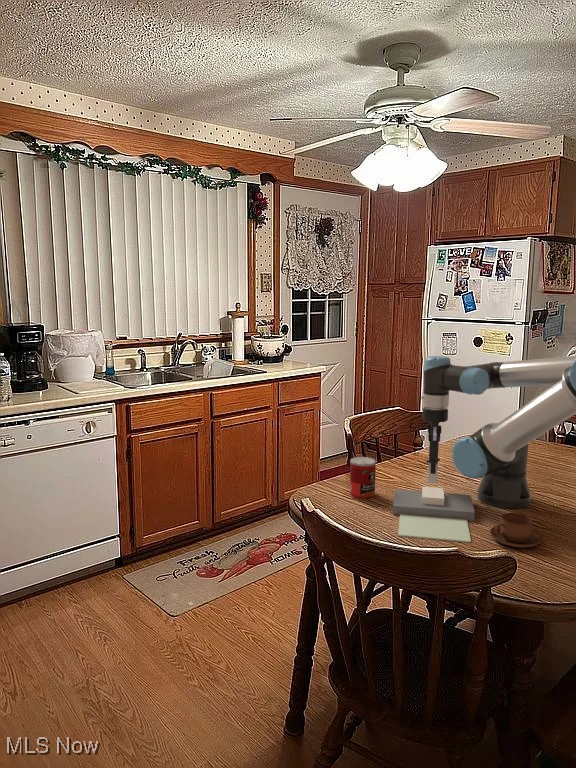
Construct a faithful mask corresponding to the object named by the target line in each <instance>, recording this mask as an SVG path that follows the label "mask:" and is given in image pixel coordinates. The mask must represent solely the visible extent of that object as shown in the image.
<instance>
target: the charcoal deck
mask: <svg viewBox="0 0 576 768" xmlns="http://www.w3.org/2000/svg"><path fill="white" fill-rule="evenodd" d="M472 499H473V498H472V495H471V494H463V493H449V492H444V505H432V504H422V490H408V489H407V490H406V489H398V488H396V489H394V496H393V504H392V515H395V516H396V515H397V516H400V514H404V515H416V516H428V517H440V518H452V519H464V520H467V522H468V521H469V522H475V516H476V515H475V514H476V512H475V508H474V504H473V503H474V502H473V500H472Z"/></svg>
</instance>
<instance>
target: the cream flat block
mask: <svg viewBox="0 0 576 768" xmlns="http://www.w3.org/2000/svg"><path fill="white" fill-rule="evenodd" d="M421 489H422V490H421V491H422V504H432V505H444V493H445V491H444V488H443V487H432V486H422V488H421Z"/></svg>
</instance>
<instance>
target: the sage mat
mask: <svg viewBox="0 0 576 768" xmlns="http://www.w3.org/2000/svg"><path fill="white" fill-rule="evenodd" d="M397 537H403V538H404V537H405V538H406V537H407V538H416V539H426V540H438V541H449V542H458V543H459V542H460V543H472V540H471V534H470V530H469V525H468V521H467V520H464V519H452V518H440V517H428V516H416V515H404V514H400V515H399V521H398V531H397Z"/></svg>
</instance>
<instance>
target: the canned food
mask: <svg viewBox="0 0 576 768" xmlns="http://www.w3.org/2000/svg"><path fill="white" fill-rule="evenodd" d="M376 462H377V461H376V460H375V459H374V458H371V457H367V456H356V457H352V458H350V461H349V463H350V464H349V493H350V495H351V497H352V498H356V499H360V500H363V499H364V500H367V499H372V498H373V497H375V494H376V470H377V469H376V468H377V467H376Z"/></svg>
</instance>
